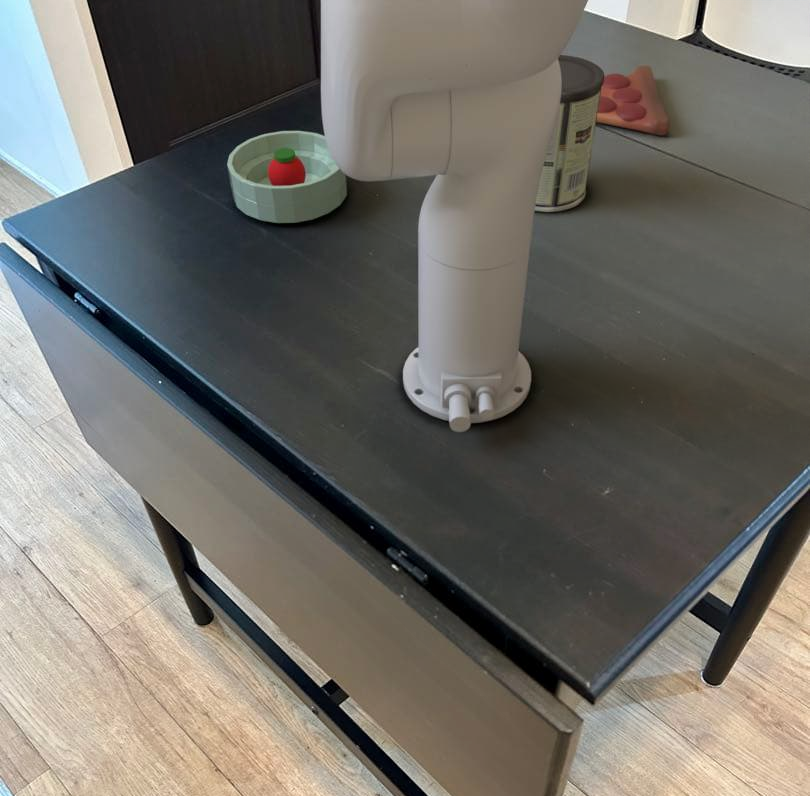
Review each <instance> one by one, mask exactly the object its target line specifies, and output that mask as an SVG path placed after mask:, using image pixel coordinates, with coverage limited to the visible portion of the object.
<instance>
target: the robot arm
mask: <svg viewBox="0 0 810 796" xmlns="http://www.w3.org/2000/svg"><path fill="white" fill-rule="evenodd" d="M588 2H589V0H320V104H321V105H320V107H321V120H322V129H323V134H324V136H325V138H326V142H327V145H328V148H329V151H330V154H331V156H332V158H333V160H334V162H335V163H336V165H337V166H338V167H339V169H340V170H341V171H342V172H343V173H345V174H346V177H349V178H351V179H353V180H356V181H359V182H383V181H392V180H393V181H394V180H402V179H413V178H421V177H433V176H435V178H434V180H433V181H432V182H431V184H430V186H429V188H428V190H427V193H426V194H425V196H424V199H423V202H422V204H421V208H420V212H419V216H418V227H417V232H418V233H417V245H418V246H417V261H418V262H417V264H418V265H417V267H418V268H417V269H418V270H417V271H418V272H417V274H418V275H417V276H418V277H417V280H418V281H417V283H418V284H417V285H418V287H417V288H418V289H417V296H418V299H417V301H418V302H417V304H418V305H417V307H418V308H417V309H418V310H417V311H418V312H417V314H418V316H417V317H418V322H417V323H418V325H417V326H418V331H417V332H418V336H417V337H418V346H417V347H416V348H415V349H413V351H412V352H410V354H409V355H408V356H407V359H406V360H405V362H404V365H403V369H402V382H403V388H404V391H405V393H406V395H407V397H408V399H410V401H411V402H412V403H413V404H414V406H416V407H417V408H419V410H421V411H422V412H424V413H426V414H428V415H429V416H432V417H433V418H434V417H435V418H437V419H439V420H443V421H446V422H447V421H448V423H449V428H450V429H451V431H452V432H455V433H464V432H466V431H468V430H469V429H470V427H471V424H476V423H477V424H479V423H485V422H489V421H494V420H497V419H500V418H503V417H504V416H507V415H508V414H511V413H512V412H513V411H515V410H516V409H517V408H519V407H520V406H521V405H522V404H523V403H524V401H525V400H526V399H527V396H528V395H529V392H530V389H531V383H532V370H531V367H530V363H529V362H528V360H527V358H526V357H525V356H524V355H523V353H521V352H520V351H519V348H520V339H521V331H522V323H523V322H522V321H523V314H524V313H523V312H524V304H525V294H526V287H527V277H528V269H529V261H530V252H531V244H532V243H531V242H532V237H533V236H532V235H533V227H534V219H535V212H536V211H535V205H536V199H537V193H538V187H539V182H540V178H541V173H542V169H543V165H544V162H545V158H546V154H547V151H548V148H549V144H550V141H551V138H552V135H553V131H554V128H555V125H556V120H557V116H558V112H559V107H560V99H561V88H562V79H561V70H560V65H559V61H558V57H559V56H560V55H562V53H563V52H564V50H565V48H566V47H567V46H568V43H569V42H570V40H571V39H572V36H573V34H574V33H575V30H576V28H577V26H578V24H579V22H580V20H581V18H582V16H583V14H584V11H585V9H586V7H587V4H588Z"/></svg>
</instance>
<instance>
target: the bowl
mask: <svg viewBox="0 0 810 796" xmlns="http://www.w3.org/2000/svg"><path fill="white" fill-rule="evenodd" d="M281 148H290V149H293V150H294V151H295V156H296V157H298V158H299V159H300V160H301V162H302V163H303V165H304V168H305V172H306V178H305V182H304V183H302V184H296V185H291V186H273V185H272V184H271V182H270V180H269V176H268V169H269V165H270V163H271V161H272V160H273V159H274V152H275V151H276V150H278V149H281ZM228 155H229V156H228V159H227V163H226V166H227V171H228V178H229V182H230V187H231V193H232V198H233V201H234V203H235V207H236V208H237V209H238V210H240V211H241V212H242V213H243V214H245V215H246V216H248V217H250V218H253V219H256V220H259V221H261V222H267V223H268V222H269V223H275V224H296V223H301V222H306V221H307V222H308V221H313V220H315V219H317V218H321V217H323V216H326V215H327V214H330V213H331V212H332V211H334V210H335V209H337V208H339V207H340V206H341V205H342V203H343V202H344V200H345V199H346V197H347V196H348V179H347V177H348V176H347V175H346V174H345V173H343V172H342V171H341V170H340V169H339V167H338V166H337V165H336V163H335V162H334V160H333V158H332V156H331V154H330V151H329V148H328V145H327V142H326V138H325V135H323V134H320V133H317V132H310V131H303V130H281V131H275V132H269V133H264V134H260V135H258V136H257V135H256V136H254V137H252V138H249V139H247V140H246V141H244V142H242V143H240V144H239V145H237V146H236V147H235V148H234V149H233V150H232V151H231V152H230V153H229V154H228Z"/></svg>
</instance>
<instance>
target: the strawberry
mask: <svg viewBox="0 0 810 796" xmlns="http://www.w3.org/2000/svg"><path fill="white" fill-rule="evenodd" d="M268 176H269V180H270V182H271V184H272V185H273V186H291V185H296V184H302V183H304V182H305V178H306V172H305V168H304V165H303V163H302V162H301V160H300V159H299V158H298V157H296V156H295V151H294V150H293V149H290V148H281V149H278V150H276V151H275V152H274V159H273V160H272V161H271V163H270V165H269V169H268Z"/></svg>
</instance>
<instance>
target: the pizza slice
mask: <svg viewBox="0 0 810 796" xmlns="http://www.w3.org/2000/svg"><path fill="white" fill-rule="evenodd" d="M666 111H667V110H666V109H665V105H664V102H663V99H662V96H661V94H660V92H659V88H658V85H657V82H656V79H655V76H654V74H653V70H652V68H651V67H650V66H649V65H639V66H637V67H636V69H635V70H634V72H632V73H631V74H629V75H623V74H622V73H610V74H607V75H604V82H603V85H602V87H601V93H600V100H599V107H598V113H597V120H596V124H597V123H598V124H603V125H609V126H612V127H618V128H623V129H628V130H632V131H633V130H634V131H638V132H643V133H647V134H651V135H656V136H661V137H662V136H665V135H666V134H667V133H668V131H669V130H670V120H669V117H668V113H667V112H666Z"/></svg>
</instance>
